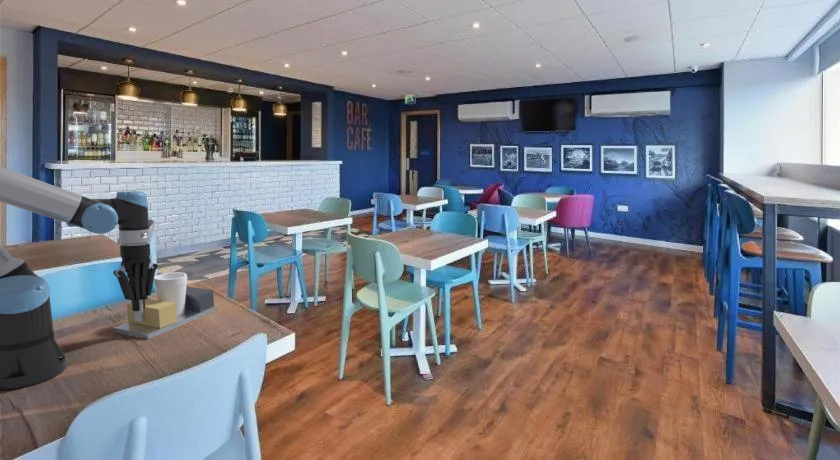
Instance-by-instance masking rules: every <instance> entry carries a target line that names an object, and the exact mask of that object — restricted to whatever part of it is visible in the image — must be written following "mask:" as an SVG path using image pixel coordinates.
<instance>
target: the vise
mask: <svg viewBox="0 0 840 460" xmlns="http://www.w3.org/2000/svg"><path fill="white" fill-rule="evenodd" d="M214 300H215V299H214V290H213V289H209V288H208V289H207V288H201V287H193V286H188V285H186V297H185V310H184V314H183V315H181V316H177V322H174V323H172V324H169V325H167V326H165V327H162V328H156V327H151V326H145V325H140V324H135V323H129V322H125V323H122V324H120V325H116V326H114V327H113V328H112V331H113V333H116V334H121V335H124V336H130V337H133V338H134V337H135V338H139V339H145V340H150V339H152V338H154V337H157V336H159V335H162V334H164V333H167V332H168V331H172V330H173V329H176V328H178V327H180V326H182V325H185V324H188V323H191V322H192V321H195V320H198V319H200V318H203V317H204V316H206V315H209V314H212V313H214V312H216V311H217V306H216V305H215V301H214ZM215 307H216V308H215ZM212 308H215V309H212ZM210 309H212V310H210ZM208 310H210V311H208ZM206 311H208V312H206ZM202 313H203V314H202Z"/></svg>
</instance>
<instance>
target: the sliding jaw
mask: <svg viewBox="0 0 840 460" xmlns="http://www.w3.org/2000/svg"><path fill="white" fill-rule="evenodd" d="M126 308H127V309H126V310H127V320H128V322H129V323H135V324H140V325H145V326H151V327H156V328H162V327H165V326H167V325H169V324H172V323H174V322H177V317H176V303H171V302H165V301H159V300H158V299H152V298H151V299H150V298H147V299H145V309H143V311H144V321H142V322H141V321H135V311H133V310H132V301H131V302H128V303H127V304H126Z"/></svg>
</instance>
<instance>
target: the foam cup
mask: <svg viewBox="0 0 840 460" xmlns="http://www.w3.org/2000/svg"><path fill="white" fill-rule="evenodd" d="M187 282H188V274H187V273H186V272H182V271H181V272H179V271H177V272H175V271H174V272H166V273H160V274H157V275H154V280H153V285H154V287H155V291H156V294H157V295H156V296H157V298H158V299H157V300H158V301H165V302H171V303H176V317H177V316H181V315H183V314H184V310H185V297H186V286H187V284H188V283H187Z"/></svg>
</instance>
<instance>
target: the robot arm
mask: <svg viewBox="0 0 840 460" xmlns="http://www.w3.org/2000/svg"><path fill="white" fill-rule="evenodd" d="M0 203H3V204H6V205H9V206H12V207H16V208H18V209H21V210H25V211H28V212H32V213H35V214H37V215H40V216H43V217H44V216H45V217H47V218H51V219H53V220H56V221H59V222H63V223H65V224H66V226H68V227H71V228H72V227H74V228H75V227H77V228H80V229H84V230H86V231H87V232H90V233H92V234H98V235H102V234H108V233H110V232H112V231H113V230H114V229H116V227H117V225H118V241H119V244H121V245H119V251H120V252H119V254H120V257H121V263H120V267H119V268H118V269H115V270H113V273H112V274H113V275H114V276H115V277H116V278H117V281H118V283H119V286H120V290H121V291H122V295H123V297H124V300H128V301H131V302H132V310H133V311H135V321H141V322H142V321H144V311H143V309H145V299H149V296H151V295H152V289H153V285H154V277H155V276H156V275H155V274H156V270H157V269H158V267H159V264H158V263H154V262H152V261H151V258H150V256H151V245H150V241H151V240H150V226H149V225H150V224H149V204H148V198H147V194H146V193H145V192H144V191H138V190H137V191H136V190H133V191H132V190H130V191H129V190H128V191H127V190H126V191H125V190H124V191H117V192H116V196H115V198H113V197H112V198H89V197H86V196H83V195H81V194H77V193H75V192H73V191H70V190H66V189H65V188H62V187H59V186H56V185H52V184H50V183H47V182H46V181H42V180H39V179H36V178H34V177H31V176H28V175H26V174H23V173H20V172H17V171H15V170H11V169H9V168H6V167H4V166H1V165H0ZM50 295H51V289H50V286H49V283H48V281H47V280H46V279H45V278H43V277H41V276H39V275H38V274H36V273H35V272H34V270H33V269H32V268H31V267H30V266H29V265H28V263H27V262H26V261H25V260H24V259H23V258H16V257H12V255H11V254H10V253H9V251H8V250H7V249H6V248H5V247H4V246H3V244H2V243H1V242H0V391H2V390H5V391H6V390H14V389H20V388H24V387H29V386H34V385H36V384H39V383H42V382H46V381H47V380H50V379H53V378H54V377H56V376H58V375H60V374H61V373H62V372H64V371H65V370H66V368H68V363H67V362H68V361H67V356H66V355H65V353H64V351H63V350H62V348H61V346H60V344H59V343H58V341H57V340H56V338H55V331H54V322H53V314H52V304H51V298H50V297H51V296H50Z"/></svg>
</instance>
